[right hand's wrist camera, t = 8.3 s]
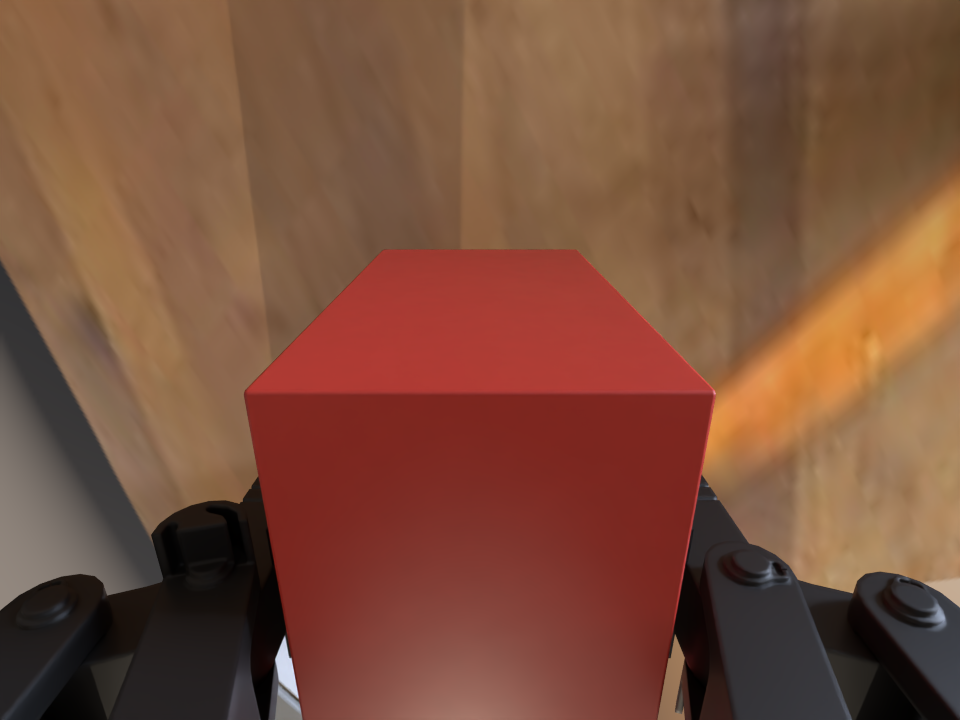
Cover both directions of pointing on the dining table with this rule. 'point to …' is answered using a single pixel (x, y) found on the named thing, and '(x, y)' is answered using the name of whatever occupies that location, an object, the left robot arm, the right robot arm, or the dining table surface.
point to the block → (479, 492)
